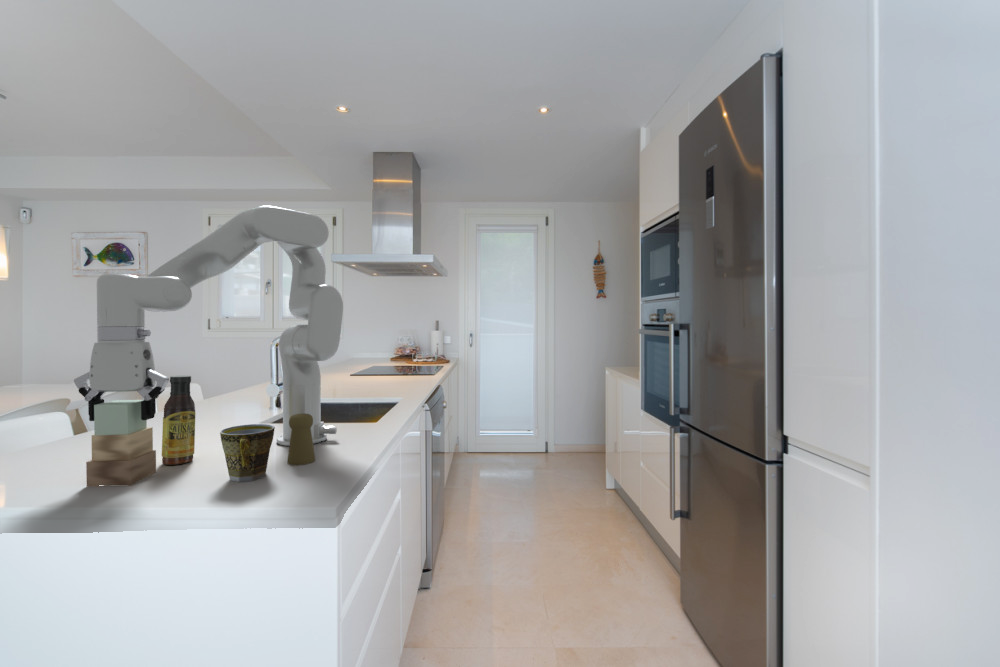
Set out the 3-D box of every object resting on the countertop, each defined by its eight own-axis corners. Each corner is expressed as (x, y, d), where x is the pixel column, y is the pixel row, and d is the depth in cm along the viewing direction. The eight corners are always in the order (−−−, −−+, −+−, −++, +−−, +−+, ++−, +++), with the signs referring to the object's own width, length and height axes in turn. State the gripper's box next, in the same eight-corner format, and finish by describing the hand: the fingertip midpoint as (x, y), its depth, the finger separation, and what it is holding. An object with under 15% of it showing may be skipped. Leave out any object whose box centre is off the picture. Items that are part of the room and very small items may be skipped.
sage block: (146, 428, 99) (146, 399, 99) (127, 434, 93) (127, 404, 93) (115, 428, 98) (115, 400, 98) (94, 435, 92) (94, 405, 92)
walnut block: (156, 473, 101) (155, 450, 100) (130, 486, 93) (130, 460, 93) (115, 474, 100) (115, 451, 100) (86, 487, 92) (86, 462, 92)
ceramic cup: (225, 472, 101) (225, 425, 101) (276, 467, 104) (276, 422, 104) (212, 492, 89) (212, 439, 88) (271, 486, 92) (271, 435, 92)
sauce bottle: (167, 468, 104) (166, 378, 103) (157, 463, 107) (156, 376, 107) (200, 461, 109) (199, 375, 109) (189, 456, 113) (189, 373, 112)
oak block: (152, 450, 100) (152, 427, 100) (129, 460, 93) (129, 435, 93) (118, 451, 100) (117, 427, 99) (91, 460, 93) (91, 435, 92)
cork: (320, 458, 112) (319, 411, 112) (307, 465, 106) (306, 416, 106) (295, 457, 112) (295, 411, 112) (281, 464, 106) (281, 416, 106)
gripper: (177, 335, 100) (178, 415, 100) (89, 335, 98) (90, 416, 99) (155, 335, 93) (156, 422, 93) (59, 335, 91) (61, 424, 91)
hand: (122, 419), depth 96 cm, fingers open, 9 cm apart
